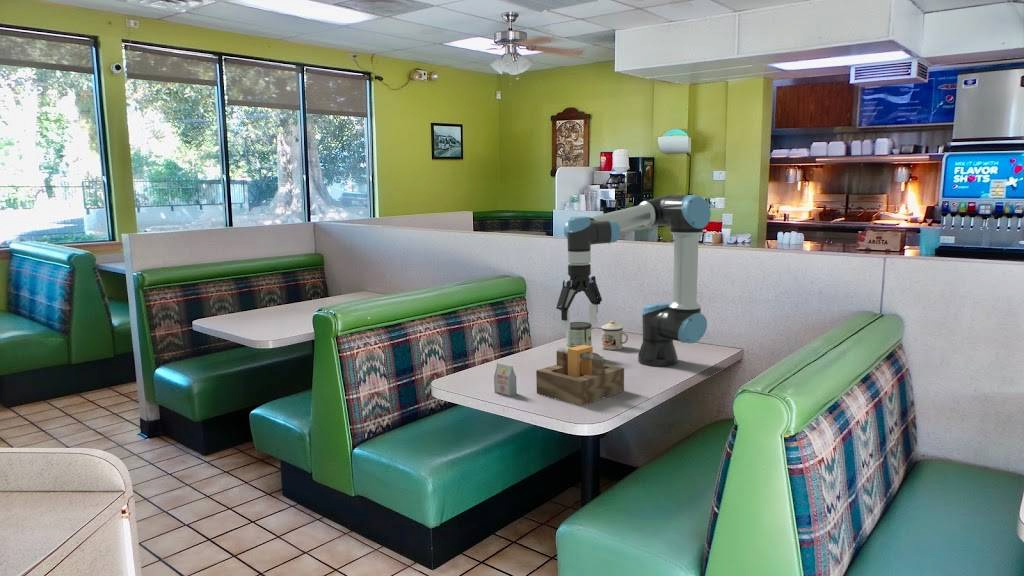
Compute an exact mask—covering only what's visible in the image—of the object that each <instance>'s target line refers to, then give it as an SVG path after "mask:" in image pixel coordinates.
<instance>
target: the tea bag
mask: <svg viewBox="0 0 1024 576" xmlns="http://www.w3.org/2000/svg"><path fill="white" fill-rule="evenodd" d="M493 379H494V380H493V381H494V383H493V384H494V386H493V387H494V393H495V394H498V395H502V396H507V397H511V396H514V395H516V394H517V375H516V372H515V371H514V368H513V365H508V364H504V363H498V362H497V363H496V368H495V372H494V375H493ZM517 395H518V394H517Z"/></svg>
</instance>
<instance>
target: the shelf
mask: <svg viewBox="0 0 1024 576" xmlns="http://www.w3.org/2000/svg"><path fill="white" fill-rule="evenodd" d="M581 358H583V359H587V360H592V373H591V374H587V375H583V374H581ZM535 372H536V376H535V377H536V394H538V395H542V396H544V395H545V397H548V396H549V398H551V397H552V398H551V399H555V398H556V399H555V400H558V399H559V401H562V402H566V403H568V404H572V403H573V405H575V404H576V406H580V407H582V405H583V406H585V405H584V404H586V405H588V404H591V403H594V402H596V401H595V400H597V401H599V400H598V399H600V400H602V399H604V398H603V397H605V398H607V397H606V396H608V397H610V396H609V395H611V396H613V395H612V394H614V395H616V394H615V393H617V394H619V393H621V391H622V392H624V391H625V368H624V367H621V366H618V365H612V364H607V363H606V358H605V357H604V356H601V355H600V356H597V355H592V354H588V353H582V354H580V377H578V378H575V377H571V376H568V349H566V348H564V347H558V348H557V350H556V364H554V365H550V366H547V367H543V368H540V369H536V371H535ZM618 392H619V393H618ZM601 398H602V399H601ZM593 401H594V402H593ZM590 402H591V403H590ZM587 403H588V404H587Z"/></svg>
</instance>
